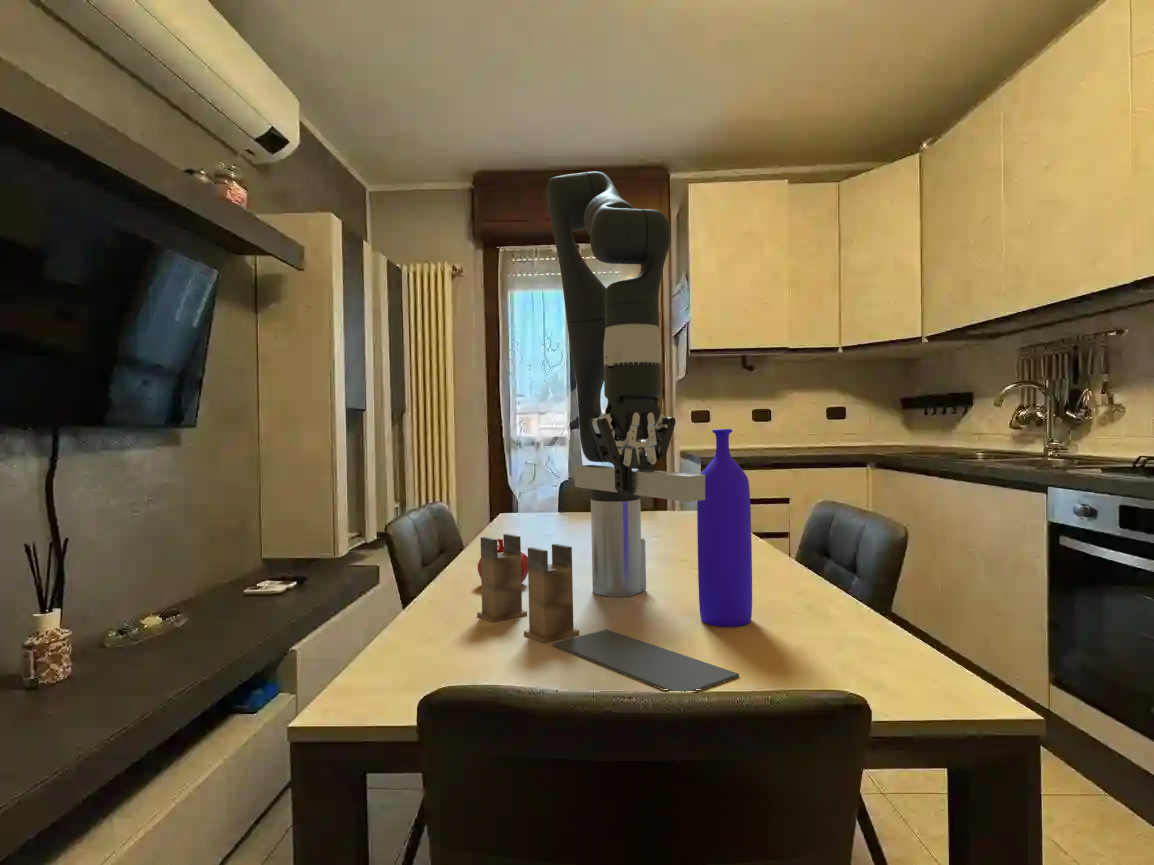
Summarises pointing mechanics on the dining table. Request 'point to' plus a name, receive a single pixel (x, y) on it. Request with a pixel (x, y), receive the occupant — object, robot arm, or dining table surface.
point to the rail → (644, 482)
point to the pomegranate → (523, 561)
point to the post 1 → (501, 579)
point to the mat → (646, 661)
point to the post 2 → (550, 594)
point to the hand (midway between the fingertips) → (634, 493)
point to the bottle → (724, 541)
